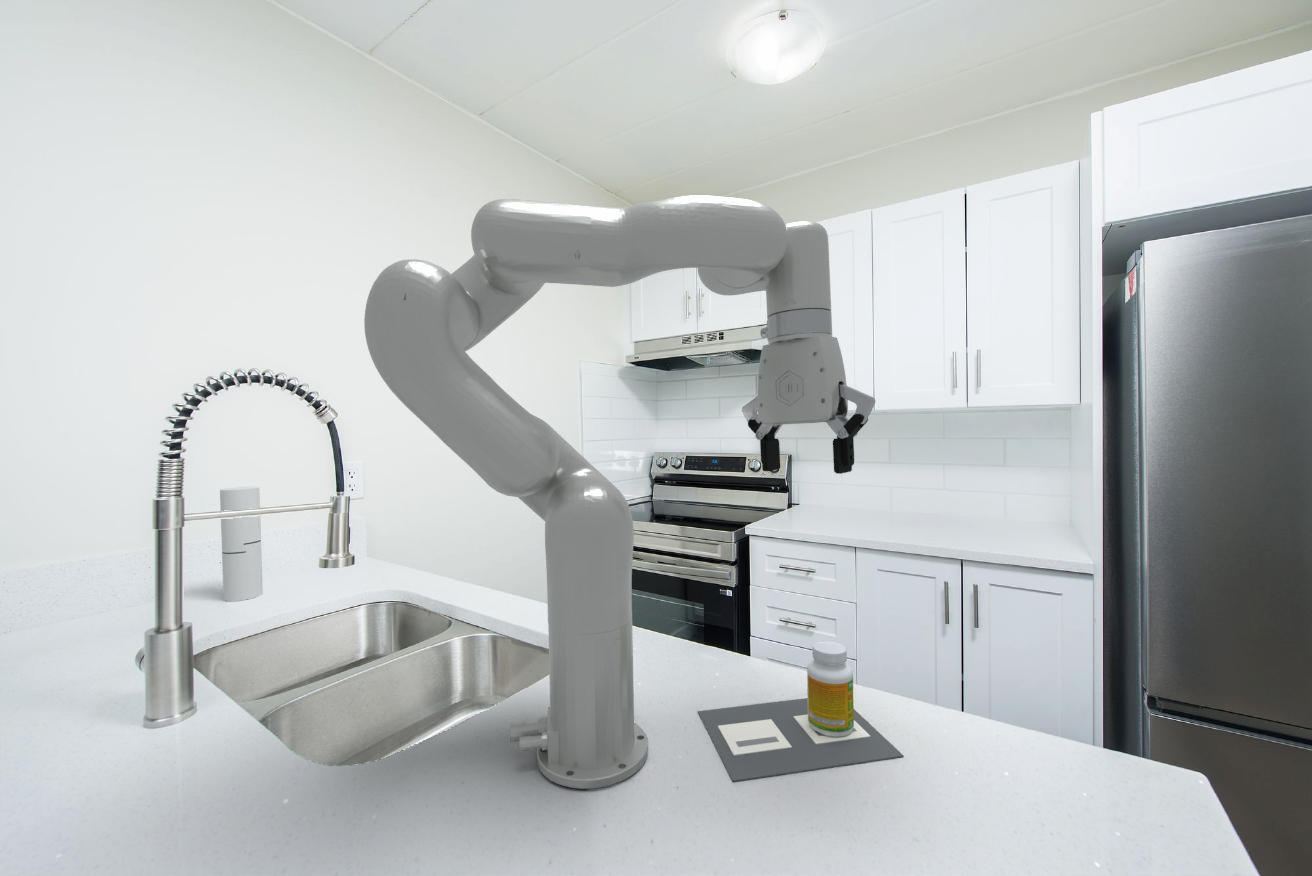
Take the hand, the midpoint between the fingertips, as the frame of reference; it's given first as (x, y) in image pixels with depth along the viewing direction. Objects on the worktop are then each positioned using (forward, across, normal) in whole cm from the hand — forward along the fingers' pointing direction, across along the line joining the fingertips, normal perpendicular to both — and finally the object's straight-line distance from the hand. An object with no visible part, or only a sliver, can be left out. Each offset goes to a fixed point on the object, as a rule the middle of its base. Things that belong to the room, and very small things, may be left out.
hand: (805, 471), depth 65 cm
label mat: (+32, -1, -3) cm, 32 cm away
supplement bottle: (+32, +1, +1) cm, 32 cm away
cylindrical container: (+28, -121, -42) cm, 131 cm away
